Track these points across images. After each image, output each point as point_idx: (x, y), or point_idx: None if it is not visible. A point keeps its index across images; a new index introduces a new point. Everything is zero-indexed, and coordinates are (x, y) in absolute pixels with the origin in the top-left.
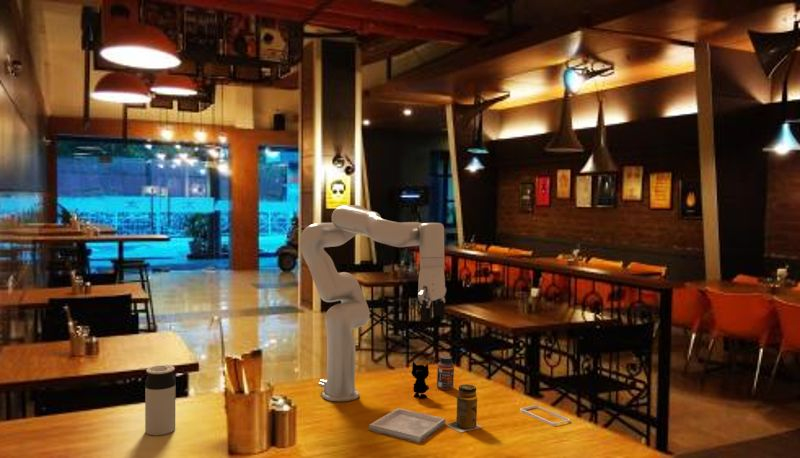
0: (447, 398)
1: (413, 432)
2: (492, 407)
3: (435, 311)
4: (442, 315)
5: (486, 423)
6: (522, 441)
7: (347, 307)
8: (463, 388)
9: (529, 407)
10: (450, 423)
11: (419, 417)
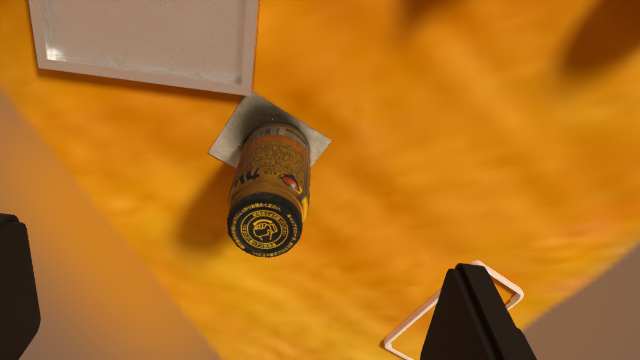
0: (545, 7)
1: (98, 15)
2: (483, 185)
3: (462, 307)
4: (425, 352)
5: (326, 200)
6: (241, 298)
7: None
8: (234, 221)
9: (502, 281)
10: (263, 104)
11: None
